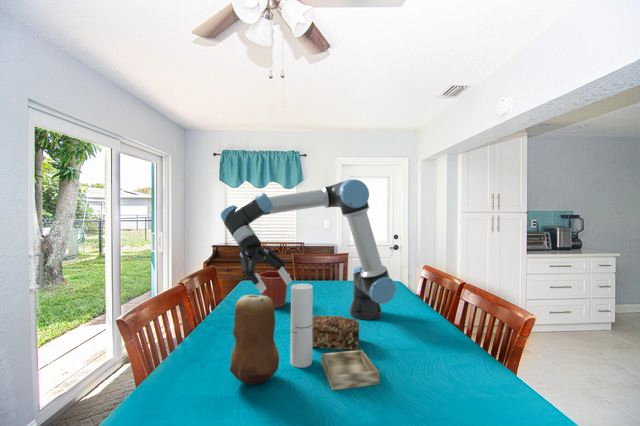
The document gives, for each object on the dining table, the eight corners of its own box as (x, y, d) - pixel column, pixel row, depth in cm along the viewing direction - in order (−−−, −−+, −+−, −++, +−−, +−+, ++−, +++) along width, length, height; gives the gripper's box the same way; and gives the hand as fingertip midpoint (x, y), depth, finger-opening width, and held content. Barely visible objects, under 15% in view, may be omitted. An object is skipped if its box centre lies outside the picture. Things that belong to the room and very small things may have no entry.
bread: (307, 348, 108) (307, 321, 108) (311, 336, 119) (311, 311, 119) (359, 352, 106) (359, 324, 106) (359, 339, 117) (359, 313, 117)
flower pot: (296, 303, 160) (296, 273, 160) (275, 312, 146) (275, 279, 146) (272, 298, 169) (272, 269, 168) (251, 306, 155) (251, 275, 154)
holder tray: (362, 360, 100) (362, 349, 100) (379, 384, 86) (379, 372, 86) (321, 364, 97) (321, 353, 97) (332, 390, 83) (332, 377, 83)
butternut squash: (268, 364, 97) (268, 287, 97) (286, 384, 86) (286, 297, 85) (224, 376, 90) (224, 293, 89) (238, 401, 78) (238, 306, 78)
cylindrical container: (309, 368, 95) (309, 289, 94) (287, 366, 96) (288, 288, 96) (314, 357, 102) (314, 284, 101) (294, 355, 103) (294, 283, 103)
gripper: (265, 244, 124) (293, 285, 116) (214, 250, 103) (244, 301, 95) (275, 232, 121) (304, 274, 113) (225, 236, 100) (257, 287, 92)
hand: (277, 286), depth 104 cm, fingers open, 13 cm apart
